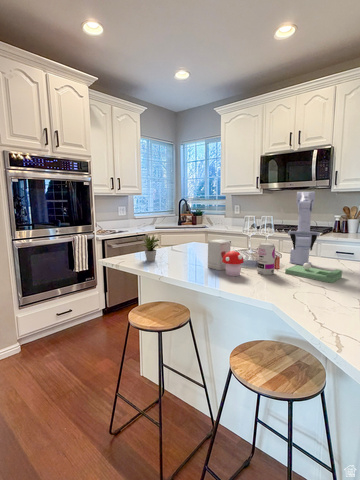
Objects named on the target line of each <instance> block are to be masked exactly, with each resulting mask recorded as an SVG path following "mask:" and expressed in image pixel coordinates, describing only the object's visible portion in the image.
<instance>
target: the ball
mask: <svg viewBox="0 0 360 480" xmlns="http://www.w3.org/2000/svg"><path fill="white" fill-rule="evenodd" d="M302 266H303V268H304V269H305V270H309V269H310V268H312V265H311V264H309V263H305V264H304V265H302Z"/></svg>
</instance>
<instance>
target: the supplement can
mask: <svg viewBox="0 0 360 480" xmlns="http://www.w3.org/2000/svg"><path fill="white" fill-rule="evenodd" d="M275 255H276V246H275V244H274V243H272V242H260V243H259V244H258V246H257V263H256V267H257V268H256V272H257V273H258V274H259V275H264V276H270V275H273V274H274V273H275V261H276V259H275V258H276V256H275Z"/></svg>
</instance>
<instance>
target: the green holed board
mask: <svg viewBox="0 0 360 480" xmlns="http://www.w3.org/2000/svg"><path fill="white" fill-rule="evenodd" d="M284 271H285V272H284V273H285V274H287V275H288V274H289V275H293V276H298V277H303V278H307V279H312V280H317V281H319V282H320V281H322V282H325V283H326V282H327V283H332V284H333V283H334V282H336V281H338V280H340V279H342V277H343V270H342V269H337V268H336V269H334V270H333V271H331V270H327V269H326V270H325V269H319V268H314V267H311V268H310V269H309V270H305V269H304V268H303V265H299V264H294V265H293V266H290V267H287V268H285V270H284Z"/></svg>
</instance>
